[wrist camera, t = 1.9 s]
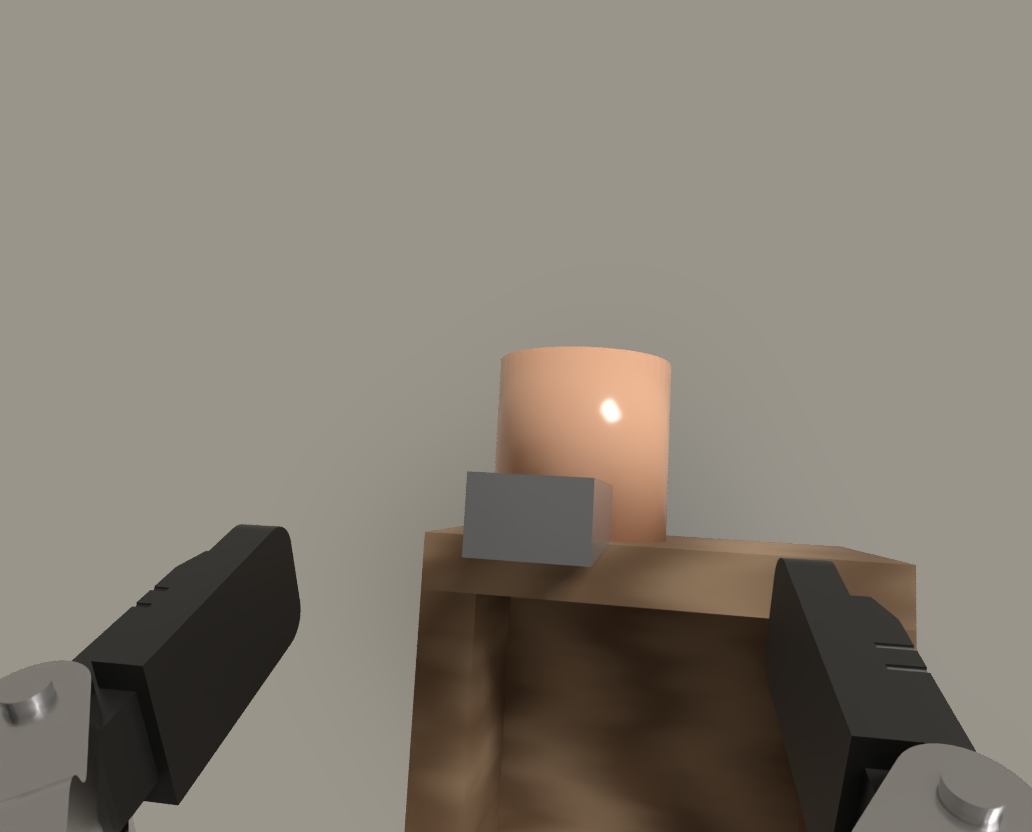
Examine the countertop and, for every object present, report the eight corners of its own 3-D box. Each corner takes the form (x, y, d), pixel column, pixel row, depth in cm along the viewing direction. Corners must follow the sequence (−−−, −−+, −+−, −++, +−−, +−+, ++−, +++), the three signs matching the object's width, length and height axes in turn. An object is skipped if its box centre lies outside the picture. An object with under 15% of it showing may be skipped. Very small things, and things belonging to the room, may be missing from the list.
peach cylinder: (381, 551, 17) (402, 267, 17) (509, 525, 32) (517, 377, 33) (682, 573, 15) (690, 264, 16) (663, 535, 31) (668, 380, 32)
